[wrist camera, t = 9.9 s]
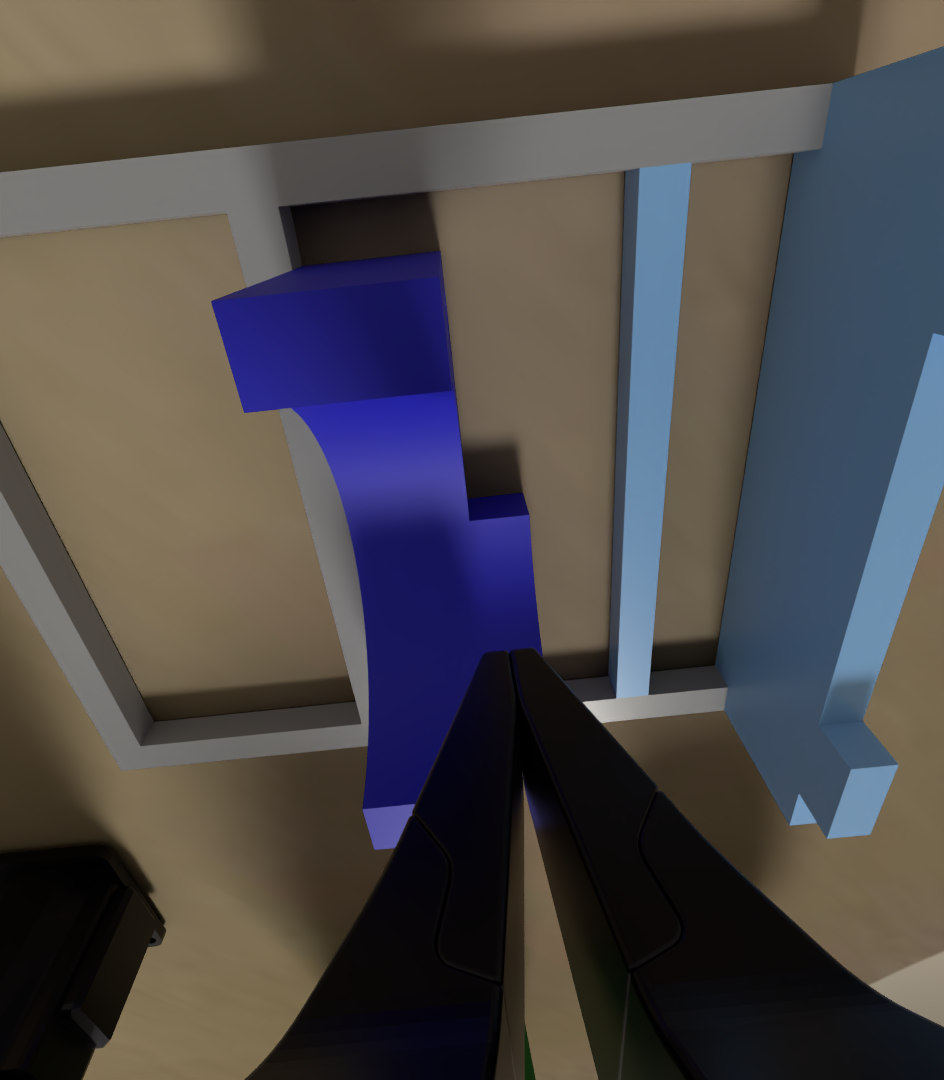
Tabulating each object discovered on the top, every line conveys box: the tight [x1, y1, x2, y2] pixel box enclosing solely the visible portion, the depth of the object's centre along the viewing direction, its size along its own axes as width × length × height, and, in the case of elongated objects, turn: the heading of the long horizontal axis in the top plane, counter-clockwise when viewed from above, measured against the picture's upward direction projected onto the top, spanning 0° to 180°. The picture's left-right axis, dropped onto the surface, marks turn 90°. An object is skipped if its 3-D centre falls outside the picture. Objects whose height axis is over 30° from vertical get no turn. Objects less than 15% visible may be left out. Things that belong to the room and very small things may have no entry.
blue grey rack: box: [0, 46, 944, 839], centre depth 13 cm, size 20×16×6 cm
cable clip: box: [211, 251, 543, 850], centre depth 13 cm, size 12×4×6 cm, turn 5°
